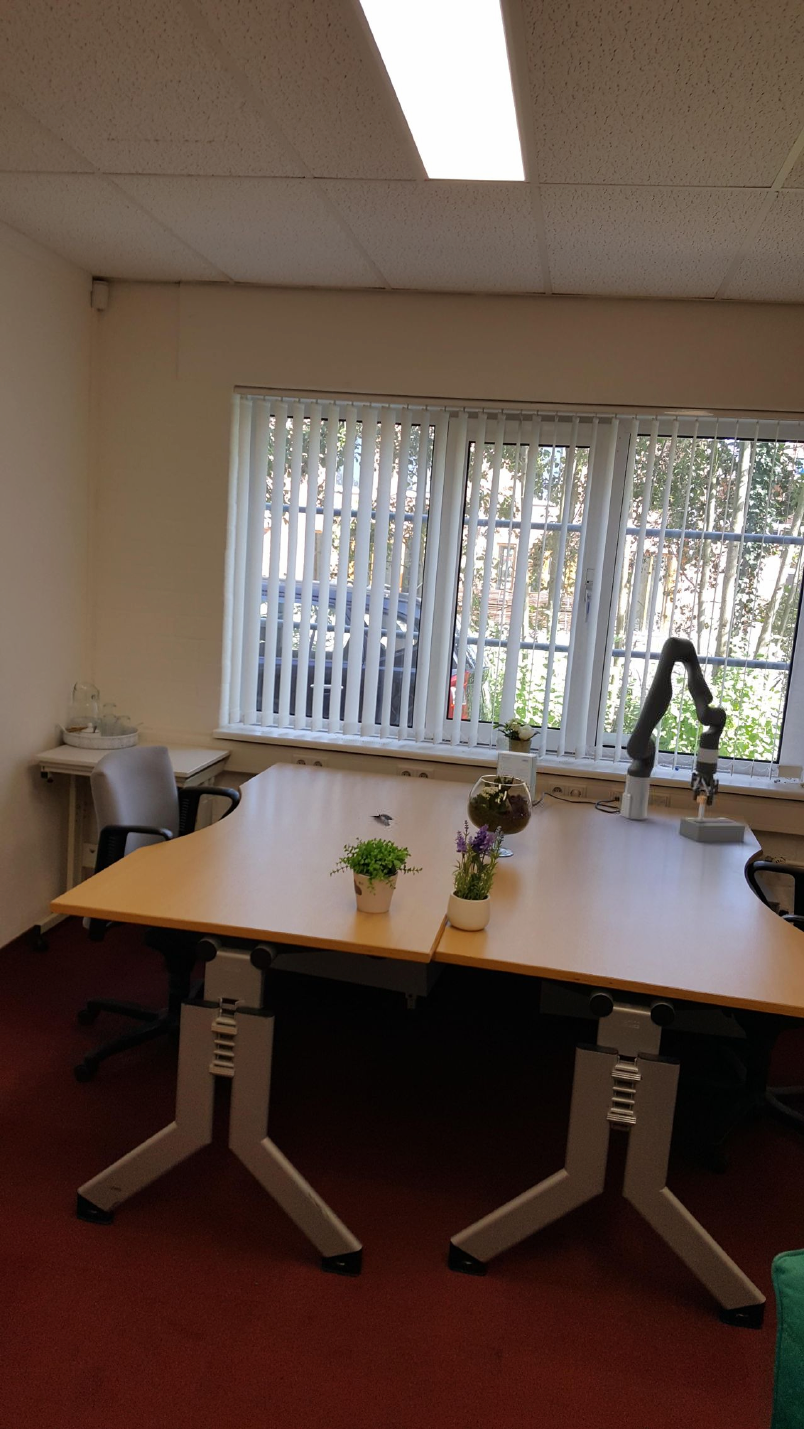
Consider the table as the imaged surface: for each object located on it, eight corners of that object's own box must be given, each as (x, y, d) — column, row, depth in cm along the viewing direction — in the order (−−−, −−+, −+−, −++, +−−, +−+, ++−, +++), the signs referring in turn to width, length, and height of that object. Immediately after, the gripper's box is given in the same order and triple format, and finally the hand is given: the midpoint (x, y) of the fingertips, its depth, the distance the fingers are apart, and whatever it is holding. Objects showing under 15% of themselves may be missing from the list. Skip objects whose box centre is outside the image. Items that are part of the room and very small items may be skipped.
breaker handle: (700, 822, 361) (702, 798, 360) (693, 820, 365) (696, 795, 364) (706, 822, 362) (709, 798, 361) (700, 820, 366) (703, 795, 365)
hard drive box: (534, 801, 408) (538, 754, 406) (529, 804, 401) (533, 757, 399) (499, 795, 415) (503, 749, 412) (493, 798, 408) (497, 752, 405)
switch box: (697, 841, 357) (698, 825, 356) (679, 833, 369) (680, 817, 368) (743, 841, 363) (745, 825, 362) (724, 833, 374) (726, 817, 374)
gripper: (727, 764, 355) (722, 807, 357) (704, 756, 368) (700, 798, 370) (709, 763, 353) (704, 807, 355) (687, 756, 366) (683, 798, 368)
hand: (702, 802), depth 362 cm, fingers open, 8 cm apart
